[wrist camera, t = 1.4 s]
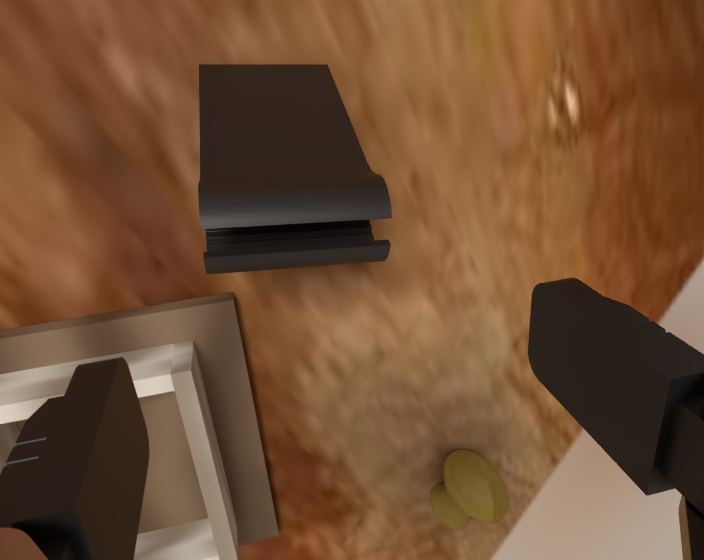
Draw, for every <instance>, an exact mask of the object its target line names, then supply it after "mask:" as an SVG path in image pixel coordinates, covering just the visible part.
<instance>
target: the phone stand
mask: <svg viewBox="0 0 704 560" xmlns="http://www.w3.org/2000/svg"><path fill="white" fill-rule="evenodd" d="M199 100H200V181H199V187H198V193H199V213H200V227H201V229H206V241H207V252H204V263H205V269H206V273H207V274H219V273H232V272H245V271H259V270H272V269H285V268H299V267H312V266H326V265H339V264H352V263H366V262H379V261H385V260H386V258H387V257H388V254H389V251H390V246H391V245H390V242H389V240H377V241H374V238H373V234H372V227H371V225H370V222H369V221H370V219H385V218H392V213H391V204H390V198H389V193H388V189H387V186H386V183H385V181H384V179H383V177H382V176H381V175H379V174H375V173H374V172H373V171H372V170H371V169H370V167H369V165H368V163H367V161H366V158H365V156H364V153H363V151H362V149H361V146H360V144H359V141H358V139H357V136H356V134H355V131H354V129H353V126H352V124H351V122H350V119H349V117H348V114H347V112H346V109H345V107H344V104H343V102H342V100H341V97H340V95H339V92H338V90H337V87H336V85H335V82H334V80H333V77H332V75H331V73H330V70H329V68H328V65H199Z"/></svg>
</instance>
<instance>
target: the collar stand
mask: <svg viewBox="0 0 704 560" xmlns="http://www.w3.org/2000/svg"><path fill="white" fill-rule="evenodd" d="M119 357H123V358H124V359H125V360H126V362H127V364H128V367H129V370H130V373H131V376H132V380H133V383H134V386H135V390H136V393H137V396H138V400H139V403H140V406H141V410H142V413H143V416H144V420H145V423H146V427H147V431H148V438H149V464H148V471H147V477H146V483H145V490H144V496H143V503H142V509H141V516H140V522H139V528H138V535H137V541H136V548H135V554H134V560H238V545H242V544H246V543H250V542H254V541H258V540H263V539H267V538H271V537H275V536H279V531H278V523H277V518H276V513H275V507H274V502H273V497H272V492H271V487H270V482H269V476H268V471H267V466H266V461H265V456H264V450H263V445H262V440H261V435H260V430H259V424H258V419H257V414H256V409H255V404H254V399H253V393H252V388H251V383H250V378H249V373H248V367H247V362H246V357H245V352H244V347H243V342H242V336H241V331H240V326H239V321H238V316H237V310H236V305H235V300H234V295H233V292H230V293H224V294H218V295H212V296H206V297H200V298H194V299H188V300H182V301H176V302H170V303H164V304H158V305H152V306H145V307H139V308H133V309H127V310H121V311H115V312H109V313H103V314H97V315H91V316H85V317H79V318H73V319H67V320H61V321H55V322H49V323H43V324H37V325H31V326H24V327H18V328H12V329H6V330H0V473H1V471H2V469H3V467H4V466H7V463H6V461H7V459H8V457H9V455H10V453H11V451H12V449H13V447H16V441H17V438H18V436H19V434H20V432H21V430H22V428H23V426H24V424H25V422H26V420H27V419H28V418H29V417H30V416H31V415H32V414H33V413H34V412H35V411H36V410H37V409H38V408H40V407H41V406H42V405H43V404H44V403H45V402H46V401H47V400H48V399H49V398H54V397H60V396H64V395H65V392H66V390H67V388H68V385H69V383H70V380H71V378H72V376H73V373H74V371H75V369H76V367H77V366H78V365H80V364H86V363H91V362H97V361H103V360H108V359H114V358H119Z"/></svg>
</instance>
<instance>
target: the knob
mask: <svg viewBox="0 0 704 560" xmlns="http://www.w3.org/2000/svg"><path fill="white" fill-rule="evenodd" d="M443 474H444V480H445V484H439V485H436V486H435V487H434V488H433V489H432V491H431V495H430V500H431V505H432V508H433V510H434V512H435V514H436V515H437V517H438V518H439V519H440V520H441V521H442V522H443V523H444V524H445V525H446V526H448V527H450V528H452V529H457V530H458V529H463V528H465V527H466V526H467V525H468V523H469V520H470V517H472V518H474V519H476V520H478V521H482V522H485V523H494V522H497V521H499V520H501V519H502V518H503V517H504V516H505V515H506V513H507V511H508V506H509V500H508V494H507V490H506V487H505V484H504V482H503V480H502V478H501V477H500V475H499V473H498V472H497V471H496V469H495V468H494V467H493V466H492V465H491V464H490V463H489V462H488V461H487V460H486V459H484V458H483V457H482V456H480V455H478V454H476V453H474V452H472V451H469V450H464V449H459V450H455V451H453V452H452V453H450V454H449V455H448V457H447V458H446V460H445V462H444V466H443Z"/></svg>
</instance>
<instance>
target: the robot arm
mask: <svg viewBox="0 0 704 560" xmlns="http://www.w3.org/2000/svg"><path fill="white" fill-rule="evenodd" d="M528 356H529V361H530V365H531V368H532V370H533V372H534V374H535V376H536V377H537V379H538V380H539V381H540V382H541V383H542V384H543V385H544V386H545V387H546V389H547V390H548V391H549V392H550V393H551V394H552V395H553V396H554V397H555V398H556V399H557V400H558V401H559V402H560V404H561V405H562V406H563V407H564V408H565V409H566V410H567V411H568V412H569V413H570V414H571V415H572V416H573V417H574V418H575V420H576V421H577V422H578V423H579V424H580V425H581V426H582V427H583V428H584V429H585V430H586V431H587V432H588V433H589V435H591V436H592V438H593V439H594V440H595V441H596V442H597V443H598V444H599V445H600V446H601V447H602V448H603V449H604V450H605V452H606V453H607V454H608V455H609V456H610V457H611V458H612V459H613V460H614V461H615V462H616V463H617V464H618V465H619V467H620V468H621V469H622V470H623V471H624V472H625V473H626V474H627V475H628V476H629V477H630V478H631V479H632V481H634V483H635V484H636V485H637V486H638V487H639V488H640V489H641V490H642V491H643V492H644V493H645V494H646V495H651V494H655V493H659V492H663V491H667V490H671V489H674V488H676V489H677V490H678V491H679V492H680V493H681V494H682V497H681V501H680V505H679V521H680V532H681V541H682V553H683V560H704V354H702V353H701V352H699V351H697V350H696V349H694V348H693V347H691V346H690V345H688V344H687V343H685V342H684V341H682V340H681V339H679V338H678V337H676V336H674V335H673V334H672V333H670V332H668V333H666V331H665V329H664V328H662V327H661V326H659V325H658V324H656V323H655V322H653V321H651V322H650V321H649V318H647V317H646V316H644V315H643V314H641V313H640V312H638V311H637V310H635V309H633V308H632V307H630V306H629V305H626V304H623V303H621V302H618V301H615V300H612V299H610V298H607V297H604V296H602V295H601V294H599V293H598V292H596V291H595V290H593V289H592V288H590V287H589V286H587V285H586V284H584V283H583V282H581V281H580V280H578V279H576V278H567V279H562V280H556V281H550V282H545V283H540V284H537V285H536V286H535V288H534V290H533V293H532V301H531V315H530V330H529V344H528ZM6 463H7V466H4V467H3V469H2V471H1V473H0V560H134V554H135V548H136V541H137V535H138V528H139V522H140V516H141V509H142V503H143V496H144V490H145V483H146V477H147V471H148V464H149V438H148V431H147V427H146V423H145V420H144V416H143V413H142V410H141V406H140V403H139V400H138V396H137V393H136V390H135V386H134V383H133V380H132V376H131V373H130V370H129V367H128V364H127V362H126V360H125V359H124V358H123V357H119V358H114V359H108V360H103V361H97V362H91V363H86V364H80V365H78V366H77V367H76V369H75V371H74V373H73V376H72V378H71V380H70V383H69V385H68V388H67V390H66V392H65V395H64V396H60V397H54V398H49V399H48V400H47V401H46V402H45V403H44V404H43V405H42V406H41V407H40V408H38V409H37V410H36V411H35V412H34V413H33V414H32V415H31V416H30V417H29V418H28V419H27V420H26V422H25V424H24V426H23V428H22V430H21V432H20V434H19V436H18V438H17V441H16V447H13V449H12V451H11V453H10V455H9V457H8V459H7V461H6Z"/></svg>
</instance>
